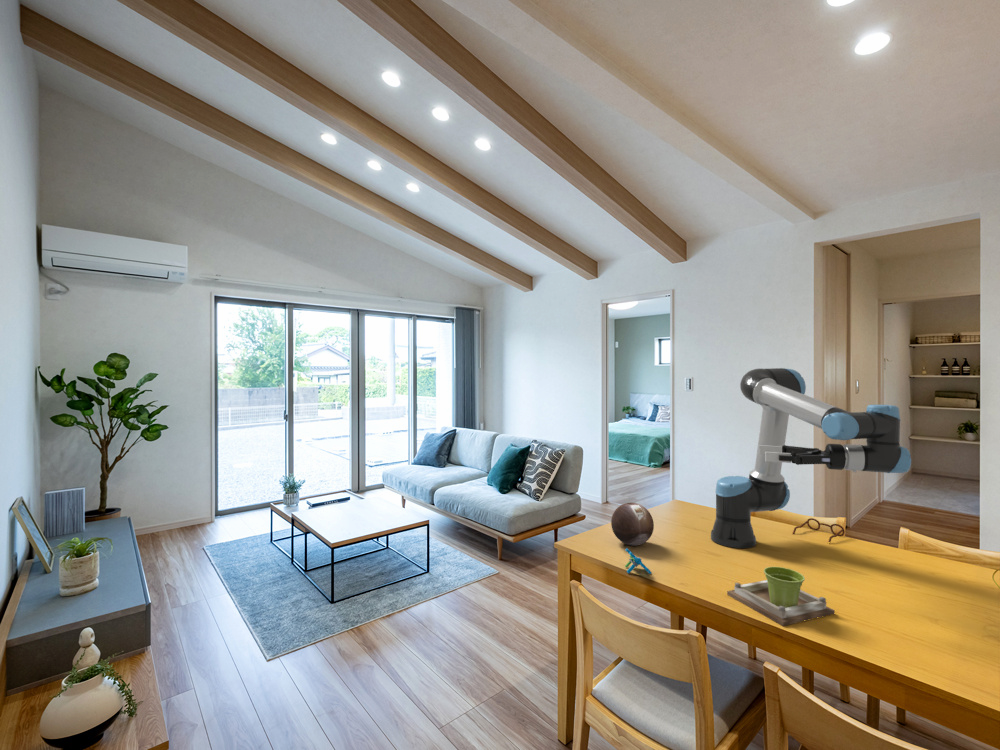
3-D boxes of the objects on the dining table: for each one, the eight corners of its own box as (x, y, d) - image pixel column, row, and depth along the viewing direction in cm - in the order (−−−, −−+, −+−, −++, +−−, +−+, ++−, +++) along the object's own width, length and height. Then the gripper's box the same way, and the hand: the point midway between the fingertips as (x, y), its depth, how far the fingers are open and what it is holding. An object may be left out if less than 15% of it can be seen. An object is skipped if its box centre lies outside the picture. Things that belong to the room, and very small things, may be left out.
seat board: (775, 585, 145) (775, 573, 144) (834, 613, 128) (834, 600, 128) (727, 594, 139) (727, 582, 139) (782, 626, 122) (783, 611, 122)
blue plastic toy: (657, 574, 148) (632, 550, 149) (643, 589, 148) (619, 564, 149) (646, 565, 159) (624, 542, 160) (634, 578, 159) (611, 556, 160)
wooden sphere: (632, 555, 168) (632, 511, 168) (602, 541, 181) (602, 501, 181) (662, 546, 176) (662, 505, 176) (631, 534, 189) (632, 496, 189)
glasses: (845, 538, 185) (845, 525, 185) (829, 545, 178) (829, 531, 178) (807, 529, 196) (808, 516, 196) (791, 535, 189) (791, 522, 189)
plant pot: (797, 600, 133) (798, 568, 133) (809, 617, 124) (809, 583, 124) (759, 596, 136) (760, 564, 135) (768, 612, 127) (768, 579, 126)
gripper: (857, 478, 132) (768, 473, 140) (830, 462, 156) (756, 458, 163) (857, 451, 132) (768, 446, 140) (831, 438, 156) (756, 435, 163)
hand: (762, 452), depth 152 cm, fingers open, 13 cm apart
